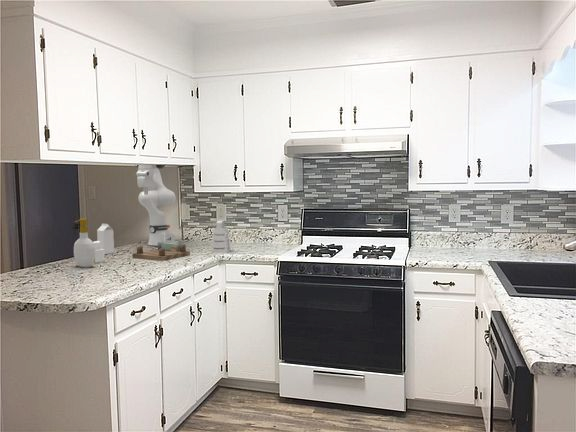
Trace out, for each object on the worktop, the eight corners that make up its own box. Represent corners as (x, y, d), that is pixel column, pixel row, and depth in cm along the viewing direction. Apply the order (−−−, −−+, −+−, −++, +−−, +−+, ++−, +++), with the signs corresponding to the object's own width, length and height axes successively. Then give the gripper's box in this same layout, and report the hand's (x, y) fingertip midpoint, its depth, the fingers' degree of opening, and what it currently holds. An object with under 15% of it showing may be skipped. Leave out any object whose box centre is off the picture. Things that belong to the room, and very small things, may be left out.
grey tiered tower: (230, 250, 317) (230, 220, 315) (227, 252, 307) (226, 221, 305) (215, 250, 318) (214, 220, 316) (211, 252, 308) (210, 221, 306)
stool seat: (161, 252, 310) (161, 242, 309) (189, 255, 298) (189, 244, 297) (132, 257, 289) (132, 247, 288) (162, 261, 277) (161, 249, 277)
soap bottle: (68, 266, 261) (66, 218, 259) (83, 264, 268) (81, 217, 266) (85, 269, 253) (83, 219, 251) (99, 266, 261) (98, 218, 259)
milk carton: (104, 254, 301) (103, 224, 300) (97, 253, 305) (96, 223, 304) (114, 253, 307) (113, 223, 305) (107, 252, 311) (106, 223, 310)
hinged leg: (156, 249, 305) (156, 242, 304) (161, 248, 308) (161, 242, 308) (176, 251, 296) (176, 244, 296) (181, 250, 300) (181, 243, 299)
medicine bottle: (86, 262, 274) (85, 241, 273) (96, 260, 280) (95, 240, 279) (94, 263, 271) (94, 242, 270) (105, 261, 277) (104, 240, 276)
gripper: (145, 173, 319) (146, 194, 320) (135, 172, 299) (135, 195, 300) (155, 173, 319) (155, 194, 320) (145, 172, 299) (146, 195, 300)
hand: (146, 194), depth 310 cm, fingers closed
